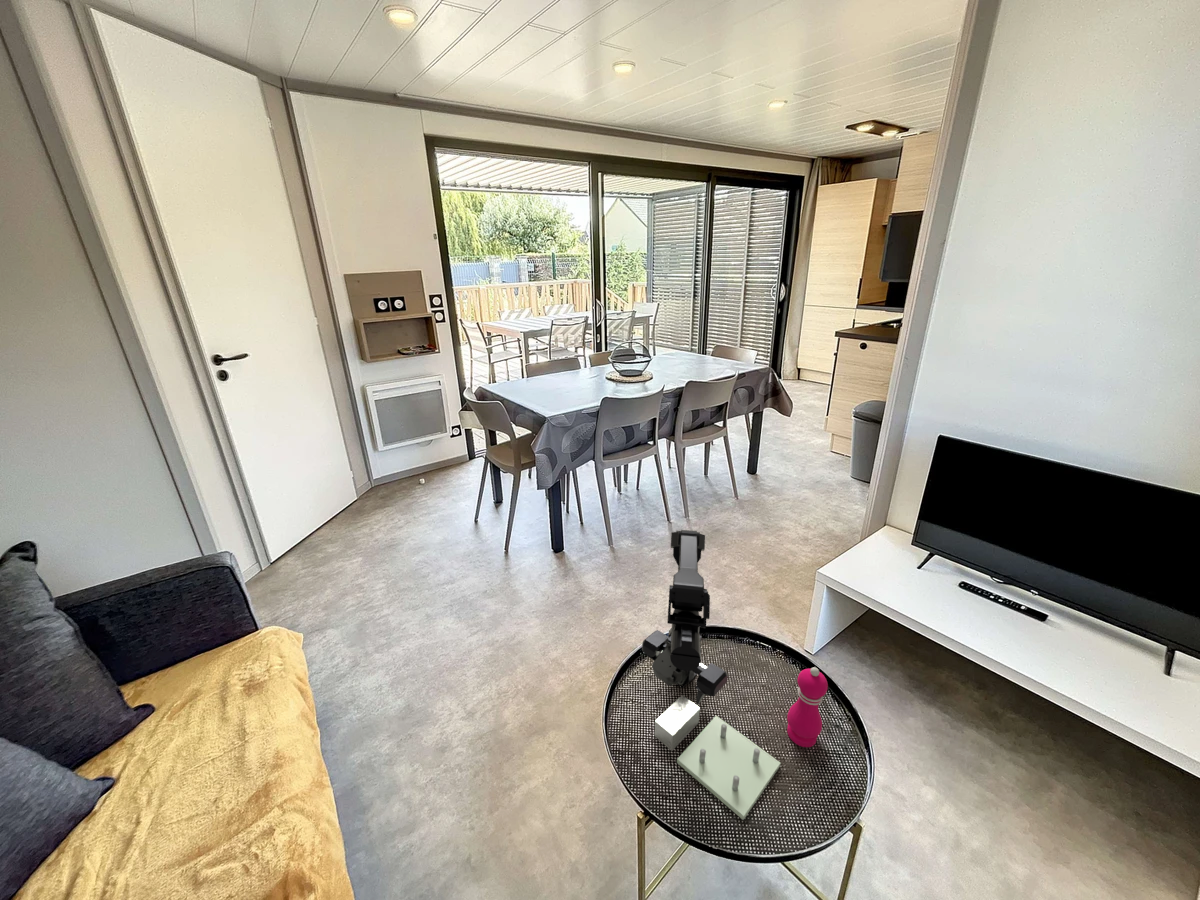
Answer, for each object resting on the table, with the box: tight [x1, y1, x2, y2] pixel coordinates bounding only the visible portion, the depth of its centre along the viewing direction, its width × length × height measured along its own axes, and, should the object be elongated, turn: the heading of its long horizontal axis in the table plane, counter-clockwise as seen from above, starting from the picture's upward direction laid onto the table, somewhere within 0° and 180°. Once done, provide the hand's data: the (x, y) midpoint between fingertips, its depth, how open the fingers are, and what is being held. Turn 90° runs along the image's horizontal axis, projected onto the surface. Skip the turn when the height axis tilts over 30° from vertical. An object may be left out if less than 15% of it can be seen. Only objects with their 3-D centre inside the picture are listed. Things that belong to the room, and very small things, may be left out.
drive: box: [654, 694, 701, 752], centre depth 110 cm, size 10×5×5 cm, turn 134°
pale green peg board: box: [676, 715, 781, 821], centre depth 102 cm, size 16×15×4 cm
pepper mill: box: [786, 666, 829, 748], centre depth 105 cm, size 7×7×20 cm
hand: (681, 690), depth 106 cm, fingers open, 9 cm apart
